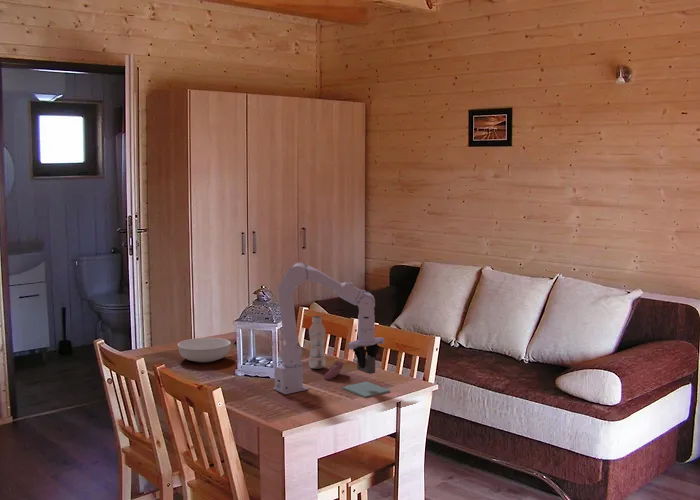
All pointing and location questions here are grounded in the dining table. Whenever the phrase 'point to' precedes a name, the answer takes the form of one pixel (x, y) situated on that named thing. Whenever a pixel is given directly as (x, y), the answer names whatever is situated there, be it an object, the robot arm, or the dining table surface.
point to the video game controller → (334, 370)
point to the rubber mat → (366, 389)
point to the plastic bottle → (317, 343)
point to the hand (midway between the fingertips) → (366, 366)
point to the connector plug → (367, 364)
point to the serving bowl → (204, 349)
